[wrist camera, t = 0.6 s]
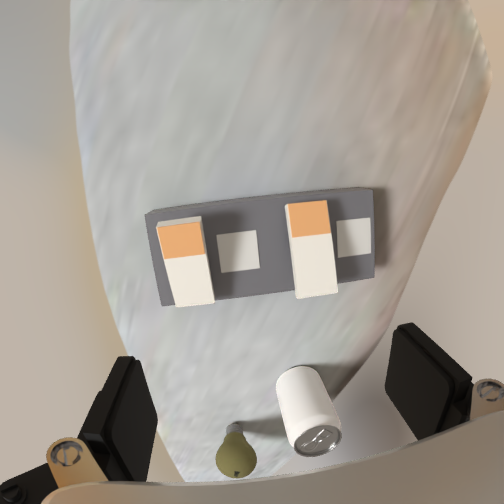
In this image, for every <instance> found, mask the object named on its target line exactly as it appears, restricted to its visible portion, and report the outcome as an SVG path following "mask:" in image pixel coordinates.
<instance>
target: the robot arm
mask: <svg viewBox="0 0 504 504" xmlns="http://www.w3.org/2000/svg"><path fill="white" fill-rule="evenodd" d="M471 380H472V377H471V376H470V375H469V374H468V373H467V372H466V371H465V370H464V369H463V368H462V367H461V366H460V365H459V364H458V363H457V362H456V361H455V360H454V359H452V358H451V357H450V356H449V355H448V354H447V353H446V352H445V351H444V350H443V349H442V348H441V347H439V346H438V345H437V344H436V343H435V342H434V341H433V340H431V338H430V337H428V336H427V335H426V334H425V333H424V332H423V331H422V330H421V329H420V328H418V327H417V326H416V325H415V324H414V323H407V324H402V325H399V326H398V327H397V329H396V330H394V332H393V338H392V345H391V352H390V358H389V365H388V370H387V376H386V382H385V391H386V393H387V395H388V396H389V398H390V399H391V401H392V402H393V404H394V405H395V407H396V408H397V410H398V411H399V412H400V414H401V416H402V417H403V418H404V420H405V422H406V423H407V425H408V426H409V427H410V429H411V431H412V432H413V433H414V435H415V437H416V438H417V439H418V441H416V442H413V443H411V444H407V445H405V446H402V447H399V448H395V449H393V450H389V451H386V452H383V453H380V454H376V455H372V456H369V457H365V458H361V459H358V460H354V461H350V462H346V463H341V464H337V465H333V466H328V467H324V468H319V469H314V470H308V471H303V472H297V473H291V474H285V475H277V476H270V477H262V478H253V479H243V480H230V481H213V482H146V480H147V474H148V469H149V464H150V458H151V453H152V448H153V443H154V438H155V433H156V428H157V423H158V418H157V413H156V410H155V407H154V404H153V401H152V398H151V395H150V392H149V389H148V386H147V382H146V379H145V376H144V372H143V369H142V365H141V362H140V361H139V360H136V359H135V358H134V357H133V356H123V357H122V356H120V357H118V358H117V360H116V362H115V364H114V366H113V368H112V370H111V372H110V374H109V376H108V379H107V380H106V383H105V384H104V387H103V389H102V391H99V392H98V394H97V396H96V398H95V400H94V402H93V404H92V406H91V409H90V411H89V413H88V415H87V417H86V419H85V422H84V424H83V426H82V428H81V431H80V433H79V435H78V437H77V438H72V437H70V438H63V439H59V440H57V441H56V442H54V443H53V444H52V445H51V446H50V447H49V449H48V451H47V454H46V458H47V462H48V463H45V464H43V465H41V466H39V467H37V468H34V469H32V470H30V471H28V472H25V473H23V474H21V475H18V476H16V477H14V478H11V479H9V480H7V481H5V482H3V483H2V484H1V485H0V504H504V384H503V383H501V382H499V381H497V380H493V379H482V380H479V381H477V382H476V383H475V384H473V383H472V382H471Z"/></svg>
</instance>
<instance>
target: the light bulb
mask: <svg viewBox="0 0 504 504" xmlns="http://www.w3.org/2000/svg"><path fill="white" fill-rule="evenodd" d="M226 432H227V435H226V437H225V438H224V442H223V444H222V445H221V446H220V448H219V449H218V451H217V454H216V465H217V467H218V469H219V470H220V471H221V472H222V473H223V474H224V475H226V476H228V477H231V478H243V477H245V476H247V475H249V474H250V473H251V472H252V471H253V470H254V468H255V466H256V463H257V457H256V453H255V451H254V449H253V448H252V447H251V446H250V445H249V444H248V442H247V441H246V439H245V437H244V435H243V429H242V426H241V425H239V424H231V425H229V426H228V427H227V429H226Z"/></svg>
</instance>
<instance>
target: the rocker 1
mask: <svg viewBox="0 0 504 504" xmlns="http://www.w3.org/2000/svg"><path fill="white" fill-rule="evenodd" d="M156 229H157V234H158V238H159V242H160V246H161V251H162V255H163V259H164V263H165V267H166V271H167V275H168V279H169V282H170V286H171V290H172V294H173V297H174V301H175V305H176V307H185V306H195V305H203V304H212V303H215V295H214V289H213V284H212V278H211V272H210V267H209V261H208V255H207V249H206V243H205V237H204V231H203V225H202V219H201V216H197V217H189V218H182V219H175V220H168V221H161V222H158V224H157V226H156Z"/></svg>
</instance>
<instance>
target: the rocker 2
mask: <svg viewBox="0 0 504 504" xmlns="http://www.w3.org/2000/svg"><path fill="white" fill-rule="evenodd" d="M285 212H286V220H287V228H288V235H289V243H290V251H291V259H292V268H293V276H294V285H295V294H296V298H298V299H300V298H307V297H314V296H320V295H326V294H333V293H338V287H337V277H336V268H335V259H334V251H333V242H332V235H331V227H330V220H329V212H328V206H327V200H323V201H312V202H302V203H292V204H286V205H285Z"/></svg>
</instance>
